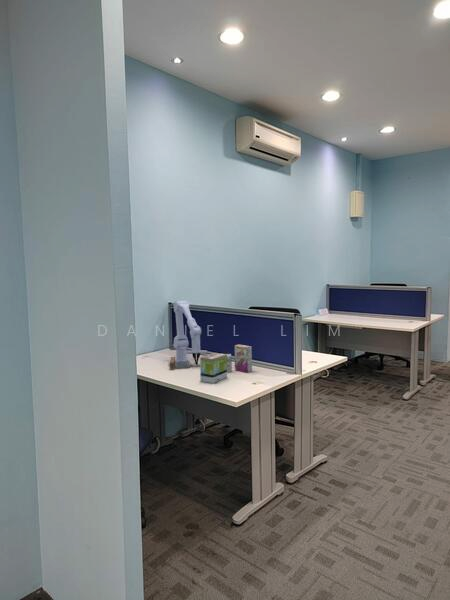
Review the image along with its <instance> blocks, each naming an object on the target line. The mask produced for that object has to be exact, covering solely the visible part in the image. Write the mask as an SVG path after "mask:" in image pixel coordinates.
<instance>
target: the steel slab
mask: <svg viewBox="0 0 450 600" xmlns="http://www.w3.org/2000/svg"><path fill="white" fill-rule="evenodd" d="M190 366H191V365H190V360H187V361H180V362H176V361H175V365H174V367H175V369H174V370H178V369H179V370H185V369H187V370H188V369H189V370H190Z"/></svg>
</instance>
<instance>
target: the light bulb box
mask: <svg viewBox="0 0 450 600" xmlns="http://www.w3.org/2000/svg"><path fill="white" fill-rule="evenodd" d="M226 354H227V373H231V372H232V370H233V367H232V364H233V363H232V354H231V353H226Z"/></svg>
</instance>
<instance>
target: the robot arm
mask: <svg viewBox="0 0 450 600" xmlns="http://www.w3.org/2000/svg"><path fill="white" fill-rule="evenodd" d="M173 312H174V313H175V323H176V325H175V326H176V327H175V328H176V336H175V337H173V347H174V349H175V354H176V356H175V362H181V361H188V357H187V355H191V356H192V358H193V360H194V363H195V365H198V363H199V358H200V357H201V355H202V354H204V355H208V354H207V353H208V350H205V349H204V350H203V349H202V350H201V335H202V331H203V330H202V328H201V326H199V325H198V323H197V322H196V319H195V318H194V317H192V313H191V310H190V302H189V301H188V300H187V299H186V300H175V301H174V302H173ZM183 314H184V316H185V318H186V319H187V321H186V324H187V326H188V328H189V334H190V338H191V350H187V349H188V347H189V340H188V336H186V335H185V327H184V326H185V325H184V316H183Z"/></svg>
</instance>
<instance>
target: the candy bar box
mask: <svg viewBox="0 0 450 600" xmlns="http://www.w3.org/2000/svg"><path fill="white" fill-rule="evenodd" d="M252 351H253V349H252V346H249V345H244V344H235V345H234V370H235V371H238V372H244V373H248V374H249V373H251V372H253V352H252Z"/></svg>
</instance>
